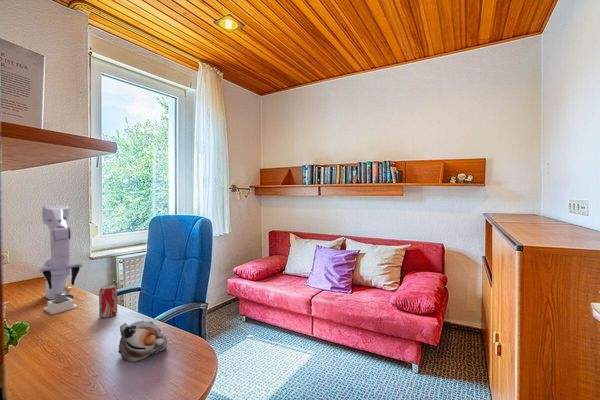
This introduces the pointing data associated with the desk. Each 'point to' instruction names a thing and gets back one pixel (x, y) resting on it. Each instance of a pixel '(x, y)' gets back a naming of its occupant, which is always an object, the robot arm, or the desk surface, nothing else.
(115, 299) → the beverage can
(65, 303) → the dock
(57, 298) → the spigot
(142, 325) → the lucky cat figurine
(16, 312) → the desk surface
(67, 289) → the lock pin
